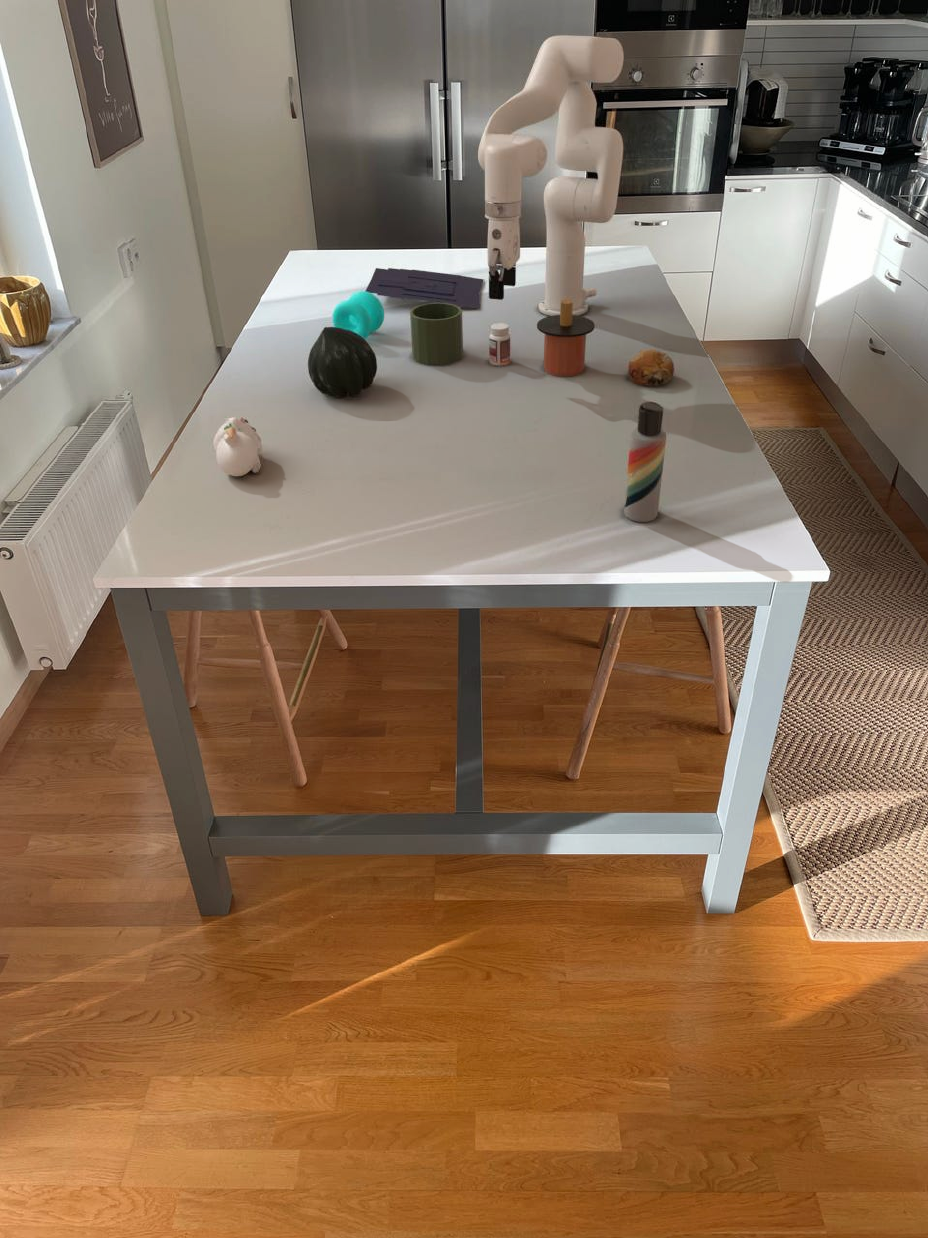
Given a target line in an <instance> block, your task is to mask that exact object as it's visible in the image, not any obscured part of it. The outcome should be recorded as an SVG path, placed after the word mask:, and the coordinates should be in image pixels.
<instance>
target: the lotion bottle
mask: <svg viewBox="0 0 928 1238" xmlns="http://www.w3.org/2000/svg"><path fill="white" fill-rule="evenodd" d="M638 407H639V408H638V418H637V427H635V428H633V429H632V431H631V433H630V441H629V451H628V460H627V461H628V462H627V473H626V484H625V493H624V495H625V496H624V508H623V509H624V510H623V511H624V512H623V513H624V515H625V517H626V518H627V519H628V520H631V521H634V522H636V523H637V522H638V523H647V522H648V523H649V522H651V521H653V520H655V519H656V518H657V516H658V513H659V506H660V497H661V487H662V480H663V471H664V462H665V461H664V460H665V452H666V444H667V432H666V431H665V430H664V429H662V426H663V416H664V407H663V406H662V405H660V404H659V403H657V402H654V401H644V402H642V403H641V404H640V406H638Z"/></svg>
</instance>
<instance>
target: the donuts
mask: <svg viewBox="0 0 928 1238" xmlns="http://www.w3.org/2000/svg"><path fill="white" fill-rule="evenodd" d="M384 320H385V309H384V307H383V304H382V302H381V300H380V299H379V298H378V297H377V295H376V294H375V295H374V293H369V292H366V290H359V291H355V292H354V293H353V294H351V295H350V296H349V298H348V299H347V300H343V301H340V302H339V303H338V304H337V305H336V306H335V307H334V309H333V312H332V324H333V327H337V328H342V329H346V330H350V331H353V332H355V333H357V334H359V335H360V336H361V337H362V338H363V339H365V340H366V339H367V338H368V337H369V335H370V334H371V333H374V332H376V331H377V330H379V329H380V328H381V326H382V325H383V323H384Z"/></svg>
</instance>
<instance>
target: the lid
mask: <svg viewBox="0 0 928 1238" xmlns="http://www.w3.org/2000/svg"><path fill="white" fill-rule="evenodd" d="M572 309H573V301H571V300H562V301H561V308H560V315H554V316H549V315H548V316H546V317H544V318H541V319H539V320H538V321H537V324H536V329H537V330H538V331H539V332H540V333H542V334H544V335H545V334H547V335H551V336H557V337H576V336H582V335H586V336H587V335H588V334H590V333H592V332H593V331H594V330H595V328H596V324H595V322H594V321H593V320H592V319H590V318H588V317H586V316H582V315H578V316H576V315H572Z"/></svg>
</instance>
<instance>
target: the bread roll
mask: <svg viewBox="0 0 928 1238" xmlns="http://www.w3.org/2000/svg"><path fill="white" fill-rule="evenodd" d="M673 361H674V360H673V359H672V357H671V356H669V354H667V353H666V352H663V351H661V350H659V349H655V348H654V349H641V350H640V351H639V352H638V353H637V354H635V355H634V356H633V357H632V358H631V359H630V360H629V363H628V378H629V381H630V382H631V383H633V384H635V385H638V386H642V387H659V386H664V385H666V384H667V383H669V382H670V381H671V380H672V379H673V378H674V374H675V364H674V362H673Z"/></svg>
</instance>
